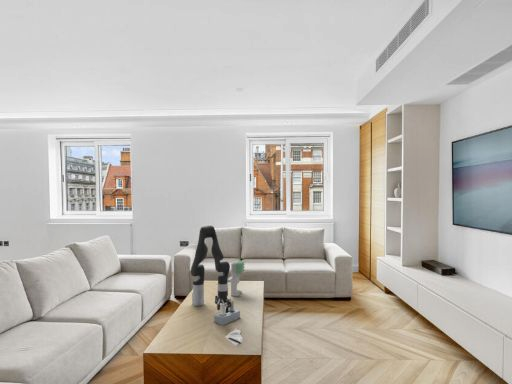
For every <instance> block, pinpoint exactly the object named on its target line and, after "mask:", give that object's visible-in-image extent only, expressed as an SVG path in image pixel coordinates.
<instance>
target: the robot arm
mask: <svg viewBox="0 0 512 384" xmlns="http://www.w3.org/2000/svg"><path fill="white" fill-rule="evenodd" d="M208 238H211V239H212V245H211V250H210V251H211V252H210V253H211V254H212V257H213V260H214V266H215V271H216V272H218V273H220V274H219V275H218V276H217V295H215V296H214V304H215V305H216V310H217V311H221V305H222V304H224V306H225V310H226V313H228V312H229V307H231V301H232V299H231V298H228V296H229V286H228V284H229V282H228V279H229V277H228V276H229V273H230V269H231V264H230V263H229V262H228V261H223V259H224V255H223V251H222V250H221V247H220V244H219V240H218V236H217V232H216V229H215V227H214V226H213V225H205V226H202V227H200V229H199V235H198V241H197V246H196V249H195V255H194V259H193V262H192V264H191V268H190V275H191V276H192V277H196V278H195V279H193V280H192V294H191V303H192V304H191V305H192V306H194V307H200V306H201V307H202V306H203V305H204V304H205V271H206V270H205V266H204V265H203V264H201V263H202V262H203V261H204V260H205V259H206V258H207V255H208V251H209V249H208V246H207V244H206V243H205V241H206V239H208Z"/></svg>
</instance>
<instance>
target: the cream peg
mask: <svg viewBox="0 0 512 384" xmlns="http://www.w3.org/2000/svg"><path fill="white" fill-rule="evenodd" d="M225 310H226V307H225V306H224V304H222V303H221V304H220V312H221V316H225Z"/></svg>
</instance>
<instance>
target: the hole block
mask: <svg viewBox="0 0 512 384" xmlns="http://www.w3.org/2000/svg"><path fill="white" fill-rule="evenodd" d="M213 317H214V318H213V322H214V323H216V324H219V325H220V326H221V325H222V326H224V325H227V324H229V323H231V322H233V321H235V320H237V319H240V318H241V311H240V310H239V309H236V308H234V312H232V313H231V312H228V313H226V309H225V316H221V311H220V312H218V313H215V314H214V315H213Z"/></svg>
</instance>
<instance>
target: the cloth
mask: <svg viewBox="0 0 512 384" xmlns="http://www.w3.org/2000/svg"><path fill="white" fill-rule="evenodd" d="M241 332H242V331H241V330H240V329H238V328H234V330H232V331H230V332H229V333H228V334H226V336H225V338H226V340H227V341H229V343H232V344H233V345H235V346H236V347H237V348H238V347H239V344H242V343H243V337H242V335H241Z"/></svg>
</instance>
